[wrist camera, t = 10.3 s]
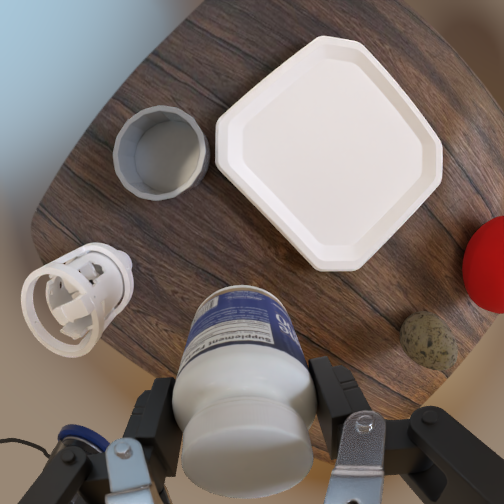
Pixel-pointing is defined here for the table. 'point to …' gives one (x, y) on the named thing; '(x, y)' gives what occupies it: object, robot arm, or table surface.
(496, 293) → the tomato
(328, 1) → the table surface
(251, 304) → the pill bottle
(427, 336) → the decorative egg
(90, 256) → the white ringed tube holder
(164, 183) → the grey faceted pot
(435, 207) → the table surface
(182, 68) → the table surface
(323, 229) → the plate
